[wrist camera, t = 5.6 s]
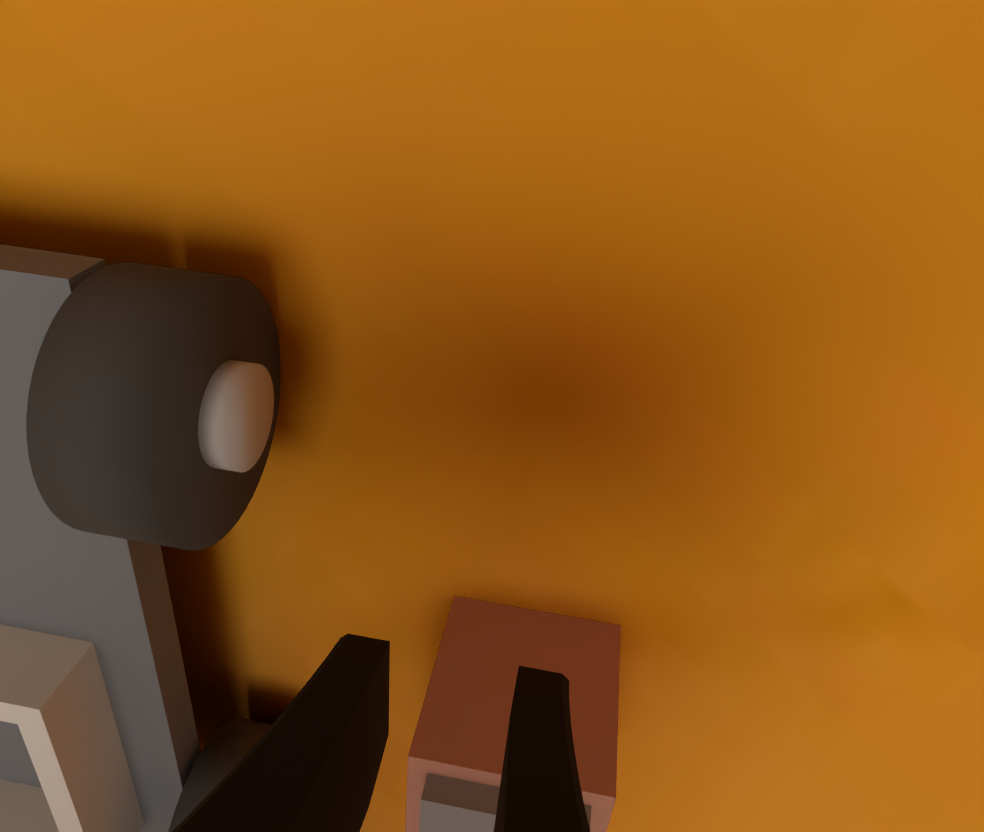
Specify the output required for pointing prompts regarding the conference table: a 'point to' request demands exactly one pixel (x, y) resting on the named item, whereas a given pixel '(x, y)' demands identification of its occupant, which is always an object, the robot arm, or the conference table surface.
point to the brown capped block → (508, 712)
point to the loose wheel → (154, 404)
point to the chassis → (85, 630)
